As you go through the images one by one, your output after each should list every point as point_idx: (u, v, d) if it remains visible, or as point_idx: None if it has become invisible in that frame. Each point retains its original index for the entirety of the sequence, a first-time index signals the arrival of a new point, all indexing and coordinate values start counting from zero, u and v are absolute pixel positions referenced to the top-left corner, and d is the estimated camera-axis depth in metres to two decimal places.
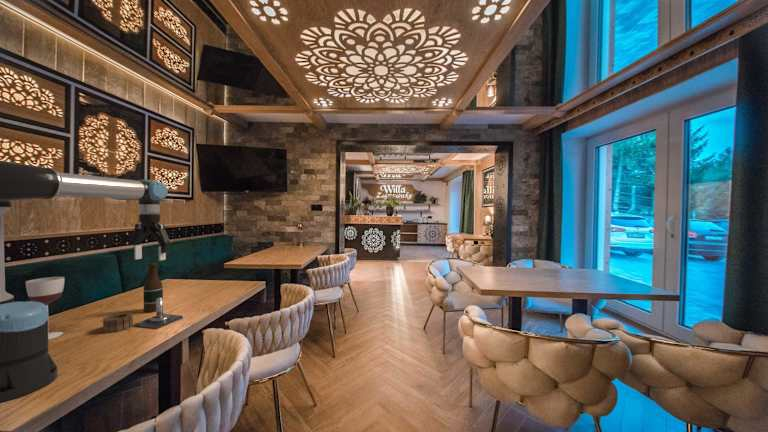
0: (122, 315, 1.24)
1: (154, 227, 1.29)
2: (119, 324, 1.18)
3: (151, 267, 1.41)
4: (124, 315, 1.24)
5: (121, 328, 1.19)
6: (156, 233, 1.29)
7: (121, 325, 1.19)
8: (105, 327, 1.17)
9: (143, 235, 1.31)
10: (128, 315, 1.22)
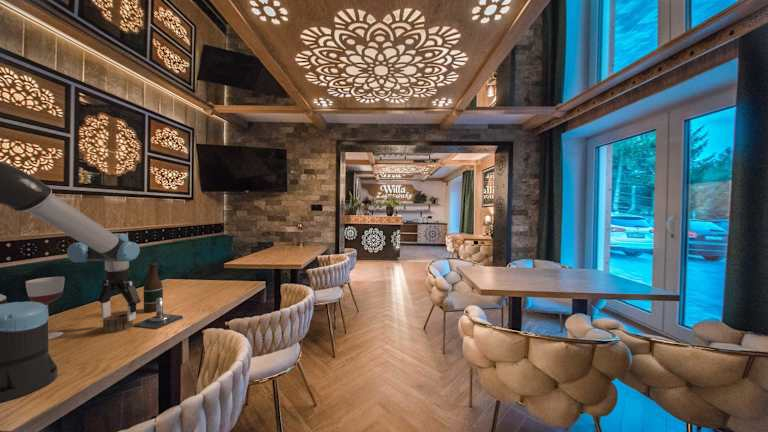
0: (122, 315, 1.24)
1: (122, 285, 1.19)
2: (119, 324, 1.18)
3: (151, 267, 1.41)
4: (124, 315, 1.24)
5: (121, 328, 1.19)
6: (125, 291, 1.20)
7: (121, 325, 1.19)
8: (105, 327, 1.17)
9: (111, 292, 1.22)
10: None
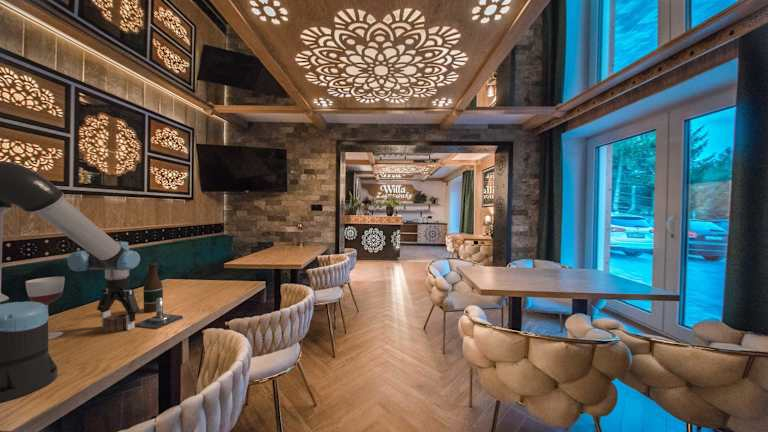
0: (122, 315, 1.24)
1: (122, 293, 1.19)
2: (119, 324, 1.18)
3: (151, 267, 1.41)
4: (124, 315, 1.24)
5: (121, 328, 1.19)
6: (124, 300, 1.20)
7: (121, 325, 1.19)
8: (105, 327, 1.17)
9: (111, 301, 1.22)
10: None
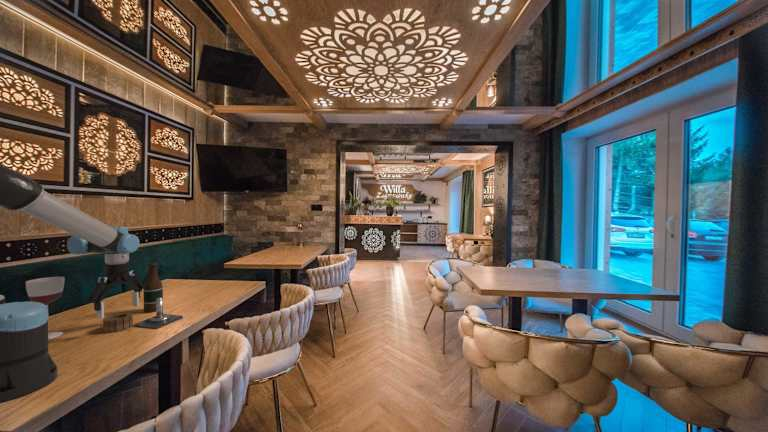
0: (122, 315, 1.24)
1: None
2: (119, 324, 1.18)
3: (151, 267, 1.41)
4: (124, 315, 1.24)
5: (121, 328, 1.19)
6: (105, 286, 1.17)
7: (121, 325, 1.19)
8: (105, 327, 1.17)
9: (127, 283, 1.25)
10: (128, 315, 1.22)
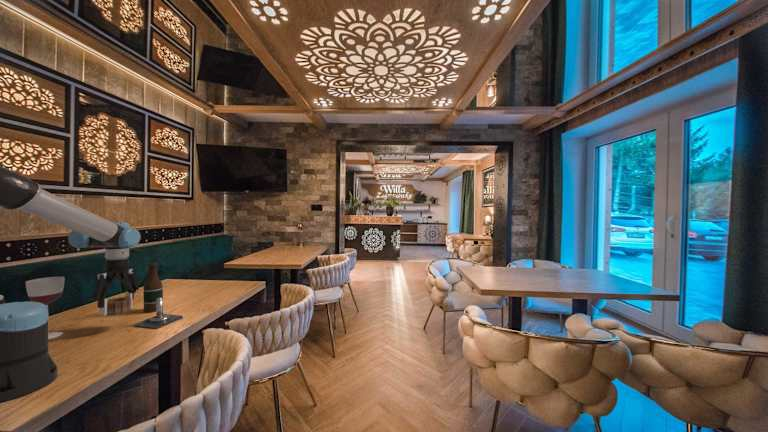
0: (121, 299, 1.23)
1: None
2: (117, 307, 1.17)
3: (151, 267, 1.41)
4: (123, 299, 1.23)
5: (119, 311, 1.18)
6: (106, 282, 1.17)
7: (119, 308, 1.18)
8: None
9: (123, 281, 1.23)
10: (127, 299, 1.22)
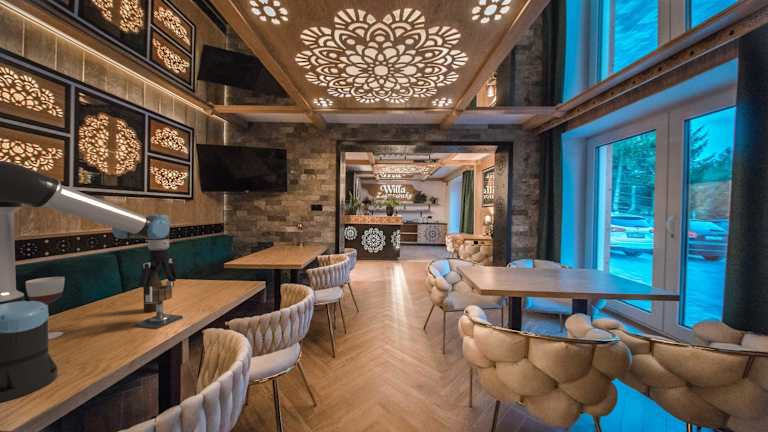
0: (162, 287, 1.31)
1: None
2: (161, 294, 1.25)
3: None
4: (164, 287, 1.31)
5: (163, 298, 1.25)
6: (150, 271, 1.24)
7: (163, 295, 1.25)
8: None
9: (165, 270, 1.30)
10: (168, 287, 1.29)
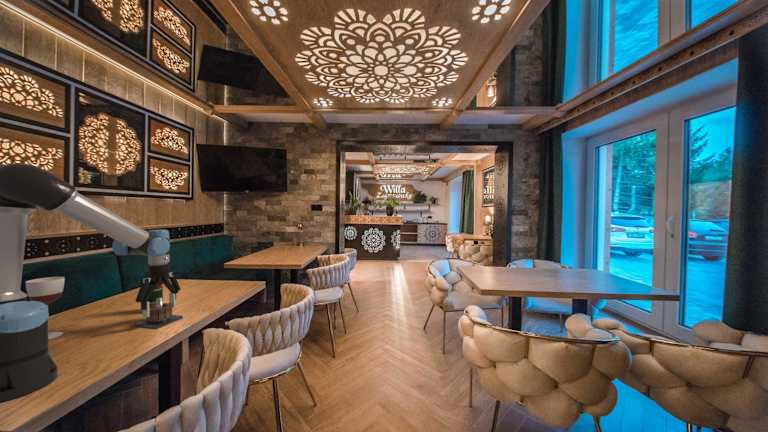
0: None
1: None
2: (161, 313, 1.25)
3: None
4: (164, 305, 1.31)
5: (163, 317, 1.25)
6: (149, 286, 1.24)
7: (163, 314, 1.25)
8: None
9: (166, 284, 1.31)
10: (168, 305, 1.29)
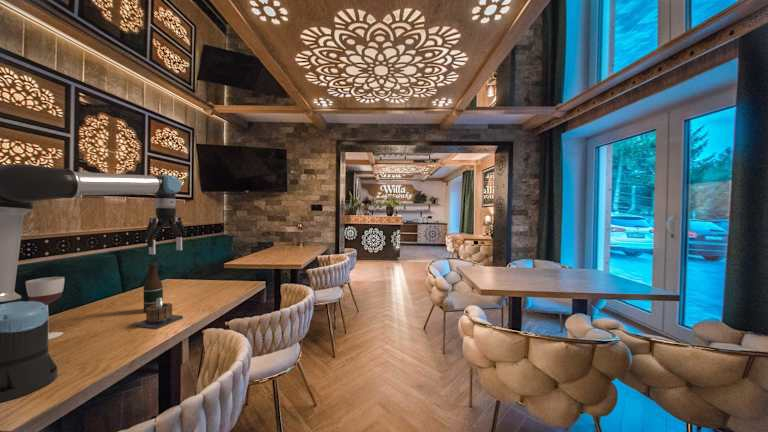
0: None
1: None
2: (161, 313, 1.25)
3: (151, 267, 1.41)
4: (164, 305, 1.31)
5: (163, 317, 1.25)
6: (156, 227, 1.31)
7: (163, 314, 1.25)
8: (148, 316, 1.23)
9: (173, 228, 1.38)
10: (168, 305, 1.29)
